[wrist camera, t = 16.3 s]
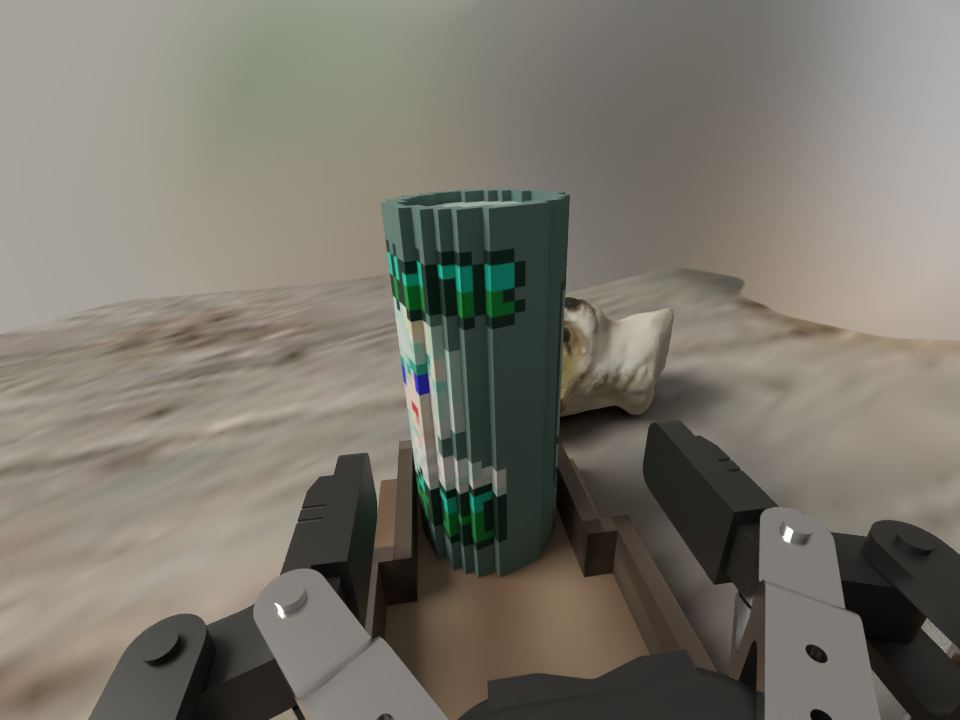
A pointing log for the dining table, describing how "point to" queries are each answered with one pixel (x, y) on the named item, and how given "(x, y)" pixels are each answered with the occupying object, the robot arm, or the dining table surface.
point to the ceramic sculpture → (611, 358)
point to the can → (482, 365)
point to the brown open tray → (519, 599)
